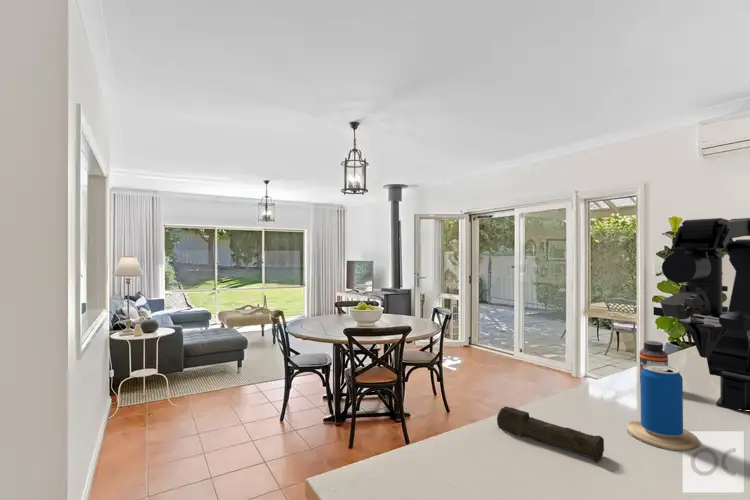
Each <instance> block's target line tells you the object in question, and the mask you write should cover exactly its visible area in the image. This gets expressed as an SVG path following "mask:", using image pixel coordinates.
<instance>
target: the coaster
mask: <svg viewBox="0 0 750 500" xmlns="http://www.w3.org/2000/svg"><path fill="white" fill-rule="evenodd" d="M626 431H627V433H628V434H629V435H630V436H631V437H633V438H634V439H636V440H638V441H640V442H642V443H644V444H647V445H650V446H652V447H657V448H659V449H661V448H662V449H665V450H670V451H681V452H682V451H683V452H684V451H692V450H696V449H697V448H699V446H700V444H699V443H700V442H699V441H700V440H699V438H698V437H697V435H695V434H694V433H692V432H691V431H689V430H686V429H684V428H683V434H682V435H679V436H678V437H676V438H664V437H660V436H656V435H653V434H651V433H649V432H648V431H647V430H646V429H645V428H644V427H642V425H641V419H638V420H633V421H630V422H628V423H627V424H626Z"/></svg>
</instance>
